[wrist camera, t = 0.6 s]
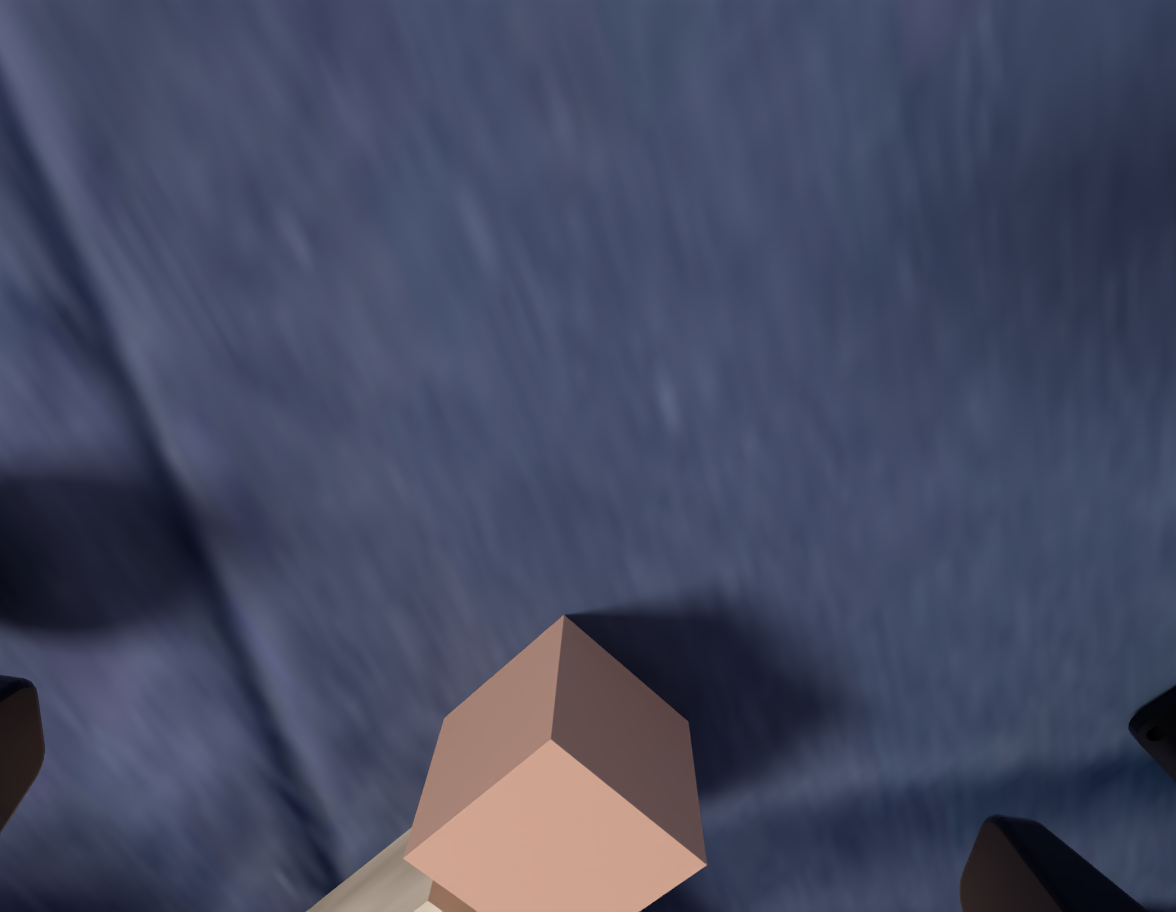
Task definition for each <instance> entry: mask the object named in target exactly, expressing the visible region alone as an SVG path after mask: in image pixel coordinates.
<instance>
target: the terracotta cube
mask: <svg viewBox="0 0 1176 912" xmlns="http://www.w3.org/2000/svg"><path fill="white" fill-rule="evenodd" d="M403 859H404V860H406V861H407V862H409V863H410V864H411V865H413V866H414V867H416V868H417V869H418V870H420V871H421V872H423V873H424V874H425V875H427V876H428V877H430V878H431V879H432V880H434V881H435V882H437V883H438V884H439V885H441V886H442V887H444V888H445V889H446V890H448V891H449V892H451V893H452V894H453V895H455V896H456V897H458V898H459V899H460V900H462V901H463V902H465V903H466V904H467V905H469V906H470V907H472V908H473V909H474V910H476V911H477V912H639V911H641V910H642V909H644V908H645V907H647V906H648V905H650V904H651V903H653V902H654V901H655V900H657V899H658V898H660V897H661V896H663V895H664V894H666V893H667V892H669V891H670V890H671V889H673V888H674V887H676V886H677V885H679V884H680V883H682V882H683V881H684V880H686V879H687V878H689V877H690V876H692V875H693V874H695V873H696V872H698V871H699V870H700V869H702V868H703V867H705V866H706V865H707V862H706V854H705V846H704V838H703V831H702V823H701V815H700V807H699V800H698V792H697V784H696V776H695V769H694V761H693V753H692V745H691V738H690V730H689V722H688V721H687V720H686V719H685V718H684V717H682V716H681V715H680V714H679V713H678V712H677V711H675V710H674V709H673V708H672V707H671V706H670V705H668V704H667V703H666V702H665V701H664V700H663V699H661V698H660V697H659V696H658V695H657V694H656V693H654V692H653V691H652V690H651V689H650V688H649V687H647V686H646V685H645V684H644V683H643V682H642V681H640V680H639V679H638V678H637V677H636V676H635V675H633V674H632V673H631V672H630V671H629V670H628V669H627V668H625V667H624V666H623V665H622V664H621V663H620V662H618V661H617V660H616V659H615V658H614V657H613V656H611V655H610V654H609V653H608V652H607V651H606V650H604V649H603V648H602V647H601V646H600V645H599V644H597V643H596V642H595V641H594V640H593V639H592V638H590V637H589V636H588V635H587V634H586V633H585V632H583V631H582V630H581V629H580V628H579V627H578V626H576V625H575V624H574V623H573V622H572V621H571V620H569V619H568V618H567V617H566V616H565V615H563V616H562V617H561V618H560V619H559V620H557V621H556V622H555V623H554V624H553V625H552V626H550V627H549V628H548V629H547V630H546V631H545V632H543V633H542V634H541V635H540V636H539V637H538V638H537V639H535V640H534V641H533V642H532V643H531V644H530V645H528V646H527V647H526V648H525V649H524V650H523V651H521V652H520V653H519V654H518V655H517V656H516V657H515V658H513V659H512V660H511V661H510V662H509V663H508V664H506V665H505V666H504V667H503V668H502V669H501V670H499V671H498V672H497V673H496V674H495V675H494V676H493V677H491V678H490V679H489V680H488V681H487V682H486V683H484V684H483V685H482V686H481V687H480V688H479V689H477V690H476V691H475V692H474V693H473V694H472V695H471V696H469V697H468V698H467V699H466V700H465V701H464V702H462V703H461V704H460V705H459V706H458V707H457V708H455V709H454V710H453V711H452V712H451V713H450V714H449V715H447V716H446V717H445V718H444V721H443V725H442V728H441V731H440V735H439V738H438V741H437V745H436V748H435V752H434V755H433V758H432V762H431V765H430V768H429V772H428V775H427V779H426V782H425V785H424V789H423V792H422V795H421V799H420V802H419V806H418V809H417V812H416V816H415V819H414V823H413V826H412V829H411V833H410V836H409V839H408V843H407V846H406V850H405V853H404V856H403Z"/></svg>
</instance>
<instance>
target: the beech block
mask: <svg viewBox="0 0 1176 912" xmlns="http://www.w3.org/2000/svg"><path fill="white" fill-rule="evenodd" d="M411 829H412V828H411ZM411 829H409V830H408V831H407V832H406V833H404V834H403V835H402V836H401V837H399V838H398V839H397V840H396V841H394V842H393V843H392V844H390V845H389V846H388V847H387V848H385V849H384V850H383V851H382V852H380V853H379V854H378V855H377V856H375V857H374V858H373V859H372V860H370V861H369V862H368V863H367V864H365V865H364V866H363V867H362V868H360V869H359V870H358V871H357V872H355V873H354V874H353V875H352V876H350V877H349V878H348V879H347V880H345V881H344V882H343V883H341V884H340V885H339V886H338V887H336V888H335V889H334V890H333V891H331V892H330V893H329V894H328V895H326V896H325V897H324V898H323V899H321V900H320V901H319V902H318V903H316V904H315V905H314V906H313V907H311V908H310V909H309V910H308V911H306V912H477V911H476V910H474V909H473V908H472V907H470V906H469V905H467V904H466V903H465V902H463V901H462V900H460V899H459V898H458V897H456V896H455V895H453V894H452V893H451V892H449V891H448V890H446V889H445V888H444V887H442V886H441V885H439V884H438V883H437V882H435V881H434V880H432V879H431V878H430V877H428V876H427V875H425V874H424V873H423V872H421V871H420V870H418V869H417V868H416V867H414V866H413V865H411V864H410V863H409V862H407V861H406V860H404V859H403V856H404V853H405V850H406V846H407V843H408V839H409V836H410V833H411Z"/></svg>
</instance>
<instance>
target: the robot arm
mask: <svg viewBox="0 0 1176 912" xmlns="http://www.w3.org/2000/svg"><path fill="white" fill-rule="evenodd" d="M1153 727H1154V728H1153ZM1151 728H1153V729H1152V730H1150V729H1151ZM1129 731H1130V733H1131V735H1132V736H1133V737H1134V738H1135V739H1136V740H1137V741H1138V742H1139V744H1140V745H1141V746H1142V747H1143V748H1144V749H1145V750H1146V751H1147V752H1148V753H1149V754H1150V755H1151V756H1152V757H1153V758H1154V759H1155V761H1156V762H1157V763H1158V764H1159V765H1160V766H1161V767H1162V768H1163V769H1164V770H1165V771H1166V772H1167V773H1168V774H1169V775H1170V776H1171V777H1172V778H1173V779H1174V781H1175V782H1176V689H1175V690H1173V691H1172V692H1170V693H1169V694H1167V695H1165V696H1164V697H1162V698H1161V699H1159V700H1158V701H1156V702H1154V703H1153V704H1151V705H1150V706H1148V707H1147V708H1145V709H1143V710H1142V711H1140V712H1139V713H1137V714H1136V715H1135V716H1134V717H1133V718H1132V719H1131V720H1130V722H1129ZM44 753H45V743H44V736H43V729H42V722H41V715H40V707H39V700H38V693H37V690H36V688H35V686H34V685H33V683H32V682H31V681H29V680H27V679H24V678H18V677H11V676H3V675H0V834H1V832H2V830H3V829H4V827H5V826H6V824H7V823H8V821H9V820H10V818H11V816H12V815H13V813H14V812H15V810H16V809H17V807H18V805H19V804H20V802H21V801H22V799H23V798H24V796H25V795H26V793H27V791H28V790H29V788H30V787H31V785H32V784H33V782H34V780H35V779H36V777H37V775H38V773H39V771H40V769H41V766H42V763H43V760H44ZM960 902H961V907H962V912H1149V911H1147V910H1146V909H1145V908H1144V907H1142V906H1141V905H1140V904H1139V903H1138V902H1136V901H1135V900H1134V899H1133V898H1131V897H1130V896H1129V895H1128V894H1127V893H1125V892H1124V891H1123V890H1122V889H1120V888H1119V887H1118V886H1117V885H1115V884H1114V883H1113V882H1112V881H1111V880H1109V879H1108V878H1107V877H1106V876H1104V875H1103V874H1102V873H1101V872H1100V871H1098V870H1097V869H1096V868H1095V867H1093V866H1092V865H1091V864H1090V863H1089V862H1087V861H1086V860H1085V859H1084V858H1082V857H1081V856H1080V855H1079V854H1078V853H1076V852H1075V851H1074V850H1073V849H1071V848H1070V847H1069V846H1068V845H1066V844H1065V843H1064V842H1063V841H1062V840H1060V839H1059V838H1058V837H1057V836H1055V835H1054V834H1053V833H1052V832H1051V831H1049V830H1048V829H1047V828H1046V827H1044V826H1043V825H1042V824H1040V823H1039V822H1037V821H1035V820H1032V819H1028V818H1020V817H1013V816H1006V815H999V814H998V815H991V816H990V817H988V818H987V819H986V820H985V821H984V823H983V825H982V826H981V829H980V831H979V834H978V836H977V839H976V841H975V844H974V846H973V849H972V851H971V853H970V856H969V858H968V861H967V863H966V866H965V868H964V871H963V873H962V877H961V881H960Z"/></svg>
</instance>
